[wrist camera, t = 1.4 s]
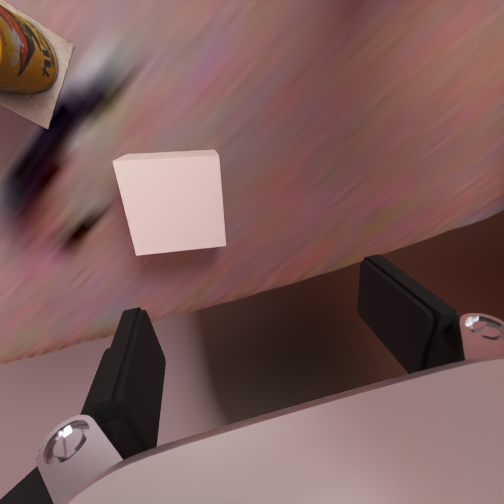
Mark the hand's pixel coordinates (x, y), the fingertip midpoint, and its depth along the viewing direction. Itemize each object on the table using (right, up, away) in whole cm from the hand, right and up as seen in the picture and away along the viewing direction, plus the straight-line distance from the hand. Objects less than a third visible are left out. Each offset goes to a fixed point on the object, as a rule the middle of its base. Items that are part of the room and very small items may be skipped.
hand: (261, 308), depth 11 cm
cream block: (-10, +10, +22) cm, 26 cm away
